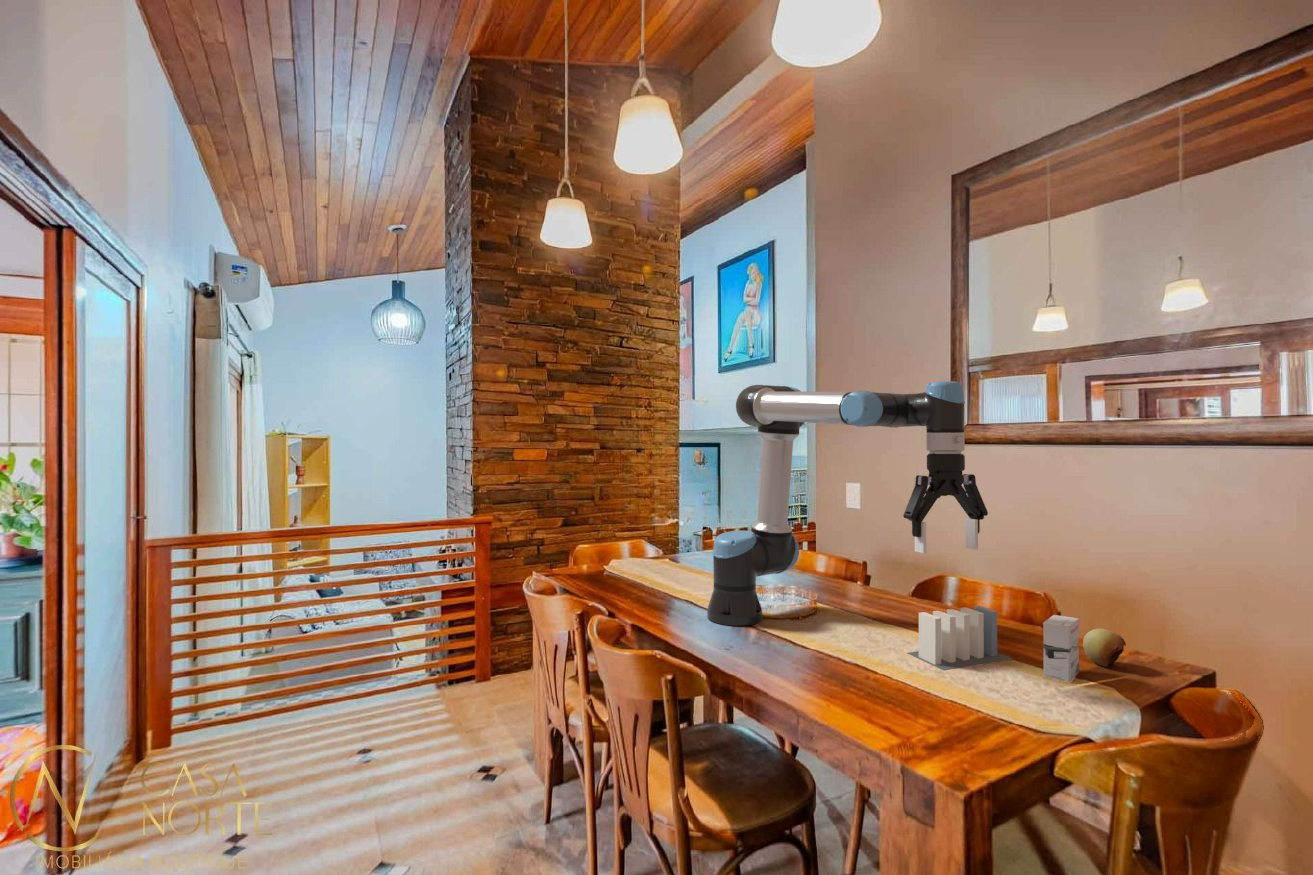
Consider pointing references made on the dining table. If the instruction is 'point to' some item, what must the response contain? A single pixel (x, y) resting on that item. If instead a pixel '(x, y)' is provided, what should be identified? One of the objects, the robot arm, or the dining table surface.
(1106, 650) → the fruit
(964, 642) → the domino
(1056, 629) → the ink box
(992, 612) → the domino
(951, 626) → the domino
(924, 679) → the dining table surface
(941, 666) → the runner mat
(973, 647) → the domino
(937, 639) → the domino
